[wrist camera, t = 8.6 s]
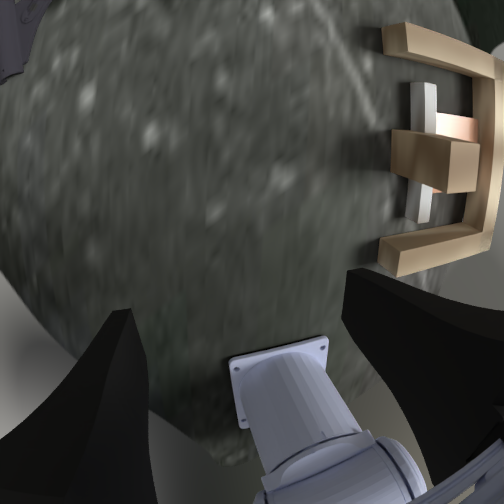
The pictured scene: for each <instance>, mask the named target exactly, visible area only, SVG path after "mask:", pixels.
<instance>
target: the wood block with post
mask: <svg viewBox="0 0 504 504" xmlns="http://www.w3.org/2000/svg"><path fill="white" fill-rule="evenodd" d="M410 94H411V130H397V129H392V139H391V169H390V172H392V173H395V174H397V175H400V176H403V177H406V178H408V191H407V202H406V212H405V217H406V218H408V219H410V220H412V221H414V222H416V223H424V222H429V216H430V208H431V200H432V190H433V188H434V189H437V190H439V191H442V192H444V193H447V194H449V193H460V192H472V191H476V183H477V174H478V164H479V152H480V144H478V143H474V142H470V141H466V140H462V139H458V138H453V137H449V136H444V135H439V134H436V125H437V95H436V85H434V84H429V83H423V82H410Z"/></svg>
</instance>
